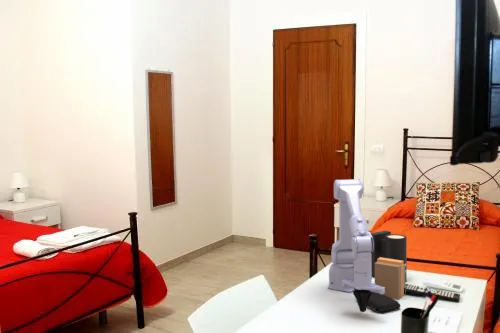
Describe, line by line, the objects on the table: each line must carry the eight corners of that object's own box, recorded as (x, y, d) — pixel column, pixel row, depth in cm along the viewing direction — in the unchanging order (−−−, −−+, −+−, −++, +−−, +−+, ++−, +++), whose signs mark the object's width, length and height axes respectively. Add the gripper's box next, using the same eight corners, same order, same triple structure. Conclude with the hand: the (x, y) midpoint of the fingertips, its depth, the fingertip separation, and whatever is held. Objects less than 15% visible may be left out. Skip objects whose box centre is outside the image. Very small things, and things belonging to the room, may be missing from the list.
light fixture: (395, 285, 200) (394, 240, 198) (369, 276, 211) (369, 233, 210) (412, 280, 205) (412, 236, 203) (386, 272, 216) (386, 230, 215)
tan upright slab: (398, 299, 184) (398, 264, 183) (374, 294, 190) (374, 260, 189) (406, 293, 191) (406, 258, 189) (383, 288, 196) (383, 255, 195)
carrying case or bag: (351, 302, 184) (377, 316, 171) (351, 294, 184) (377, 307, 171) (375, 297, 189) (403, 310, 175) (375, 289, 188) (403, 301, 175)
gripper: (337, 270, 171) (337, 310, 172) (378, 278, 162) (378, 319, 164) (346, 265, 177) (347, 303, 178) (387, 272, 168) (387, 312, 169)
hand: (363, 311), depth 171 cm, fingers closed
